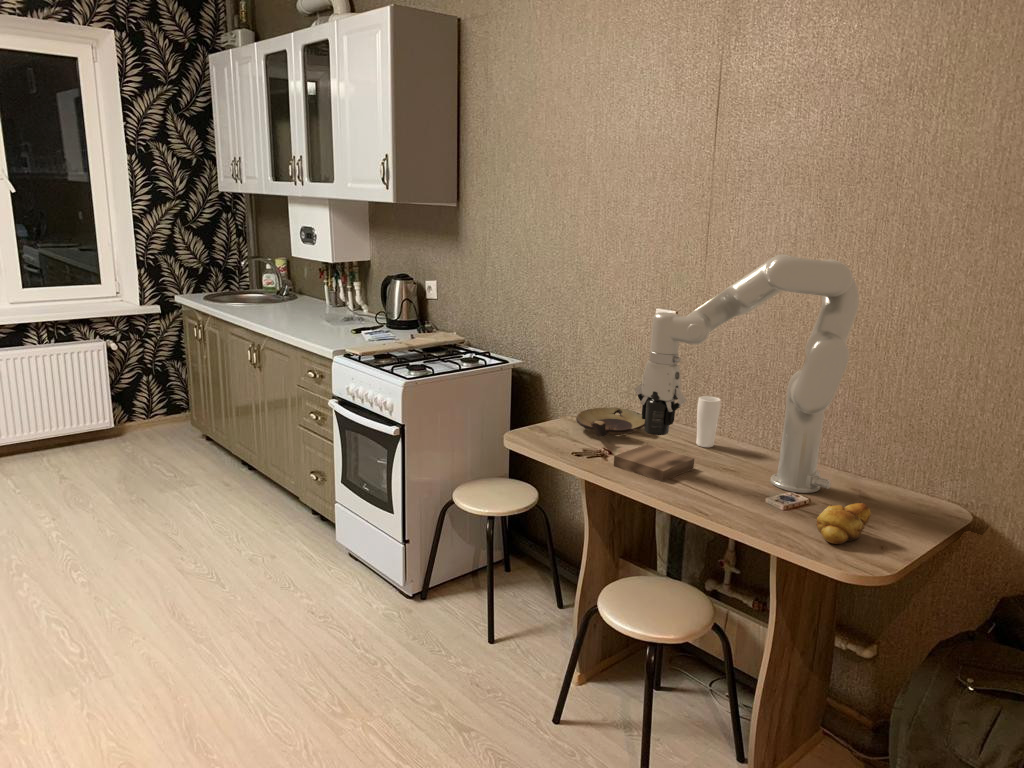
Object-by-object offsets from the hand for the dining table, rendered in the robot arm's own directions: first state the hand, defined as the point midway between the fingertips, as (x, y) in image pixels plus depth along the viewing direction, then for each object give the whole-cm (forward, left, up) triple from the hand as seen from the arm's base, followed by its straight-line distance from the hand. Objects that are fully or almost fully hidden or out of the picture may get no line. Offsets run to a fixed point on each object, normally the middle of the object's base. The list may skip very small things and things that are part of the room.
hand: (657, 420), depth 208 cm
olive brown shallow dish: (+29, -16, -14) cm, 36 cm away
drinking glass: (+1, -30, -14) cm, 33 cm away
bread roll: (-54, +7, -14) cm, 56 cm away
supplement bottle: (0, 0, -3) cm, 3 cm away
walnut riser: (0, 0, -14) cm, 14 cm away
